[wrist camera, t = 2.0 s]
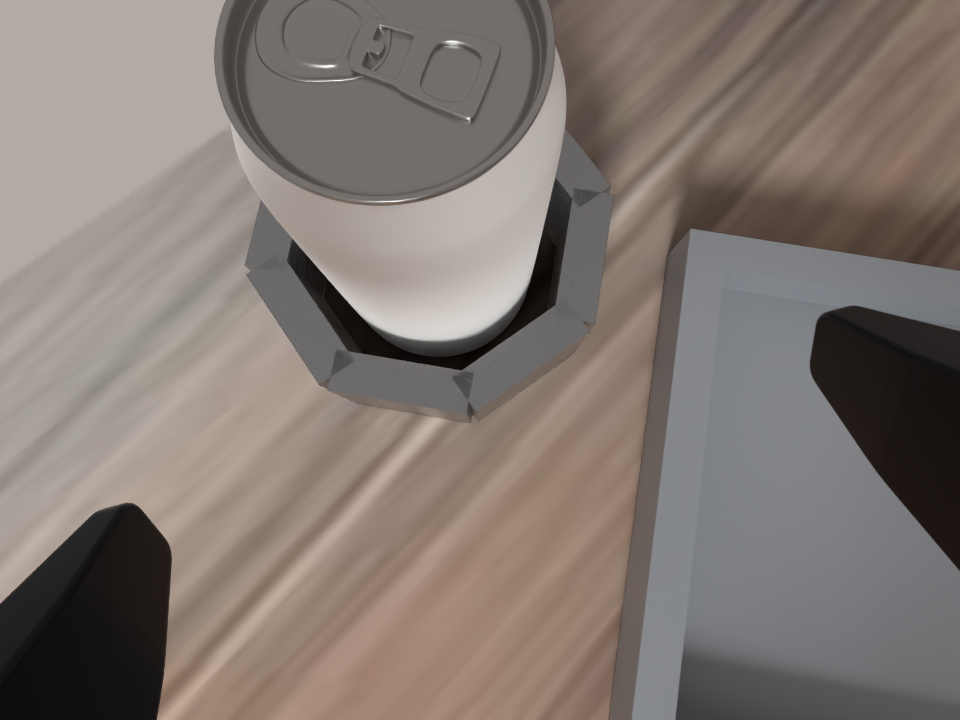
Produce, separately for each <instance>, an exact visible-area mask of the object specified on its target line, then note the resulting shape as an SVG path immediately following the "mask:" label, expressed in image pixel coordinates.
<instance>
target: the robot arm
mask: <svg viewBox="0 0 960 720" xmlns="http://www.w3.org/2000/svg"><path fill="white" fill-rule="evenodd" d="M810 372H811V375H812V378H813V380H814V382H815V383H816V385H817V386H818V388H819V389H820V391H821V392H822V394H823V395H824V396H825V398H826V399H827V401H828V402H829V404H830V405H831V407H832V408H833V410H834V411H835V413H836V414H837V416H838V417H839V419H840V420H841V421H842V423H843V424H844V426H845V427H846V429H847V430H848V432H849V433H850V435H851V436H852V438H853V439H854V441H855V442H856V444H857V445H858V446H859V448H860V449H861V451H862V452H863V454H864V455H865V457H866V458H867V460H868V461H869V462H870V464H871V465H872V466H873V468H874V469H875V471H876V472H877V473H878V475H879V476H880V477H881V478H882V480H883V481H884V482H885V483H886V485H887V486H888V487H889V488H890V490H891V491H892V492H893V493H894V494H895V495H896V497H897V498H898V499H899V500H900V501H901V503H902V504H903V505H904V506H905V507H906V508H907V510H908V511H909V512H910V513H911V514H912V515H913V517H914V518H915V519H916V520H917V521H918V523H919V524H920V525H921V526H922V527H923V528H924V530H925V531H926V532H927V533H928V534H929V536H930V537H931V538H932V539H933V540H934V541H935V543H936V544H937V545H938V546H939V547H940V549H941V550H942V551H943V552H944V553H945V554H946V556H947V557H948V558H949V559H950V560H951V562H952V563H953V564H954V565H955V566H956V567H957V569H958V570H959V571H960V331H958V330H954V329H950V328H946V327H942V326H938V325H934V324H930V323H926V322H922V321H917V320H913V319H909V318H905V317H901V316H897V315H893V314H889V313H885V312H881V311H877V310H873V309H869V308H865V307H861V306H856V305H851V306H846V307H842V308H838V309H835V310H831V311H827V312H825V313H823V314H821V315H820V317H819V318H818V320H817V322H816V326H815V332H814V338H813V344H812V350H811V356H810ZM171 564H172V556H171V550H170V546H169V544H168V542H167V540H166V539H165V538H164V536H163V535H162V534H161V533H160V531H159V530H158V529H157V528H156V527H155V525H154V524H153V523H152V522H151V521H150V519H149V518H148V517H147V516H146V514H145V513H144V512H143V511H142V510H141V509H140V508H139V507H138V506H137V505H135V504H133V503H124V504H120V505H116V506H113V507H109V508H105V509H102V510H99V511H97V512H95V513H94V514H93V515H92V516H91V517H89V518H88V519H87V520H86V521H85V522H84V523H83V524H82V525H81V526H80V527H79V528H78V529H77V530H76V531H75V532H74V533H73V534H72V535H71V536H70V537H69V538H68V539H67V540H66V541H65V542H64V543H63V544H62V545H61V546H60V547H58V548H57V549H56V550H55V551H54V552H53V553H52V554H51V555H50V556H49V557H48V558H47V559H46V560H45V561H44V562H43V563H42V564H41V565H40V566H39V567H38V568H37V569H36V570H35V571H34V572H33V573H32V574H31V575H30V576H28V577H27V578H26V579H25V580H24V581H23V582H22V583H21V584H20V585H19V586H18V587H17V588H16V589H15V590H14V591H13V592H12V593H11V594H10V595H9V596H8V597H7V598H6V599H5V600H4V601H3V602H2V603H1V604H0V720H157V714H158V709H159V703H160V697H161V690H162V684H163V677H164V668H165V657H166V643H167V627H168V611H169V596H170V580H171Z"/></svg>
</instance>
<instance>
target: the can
mask: <svg viewBox="0 0 960 720" xmlns="http://www.w3.org/2000/svg"><path fill="white" fill-rule="evenodd" d="M214 50H215V51H214V63H215V74H216V81H217V85H218V90H219V93H220V97H221V100H222V103H223V106H224V108H225V111H226V113H227V115H228V117H229V119H230V121H231V129H232V134H233V140H234V144H235V148H236V151H237V155H238V157H239V160H240V163H241V165H242V168H243V170H244V172H245V174H246V176H247V178H248V179H249V181H250V183H251V185H252V186H253V188H254V190H255V191H256V193H257V195H258V196H259V198H260V199H261V200H262V202H263V203H264V204H265V206H266V207H267V208H268V210H269V211H270V212H271V213H272V215H273V216H274V217H275V219H276V220H277V221H278V222H279V223H280V224H281V226H282V227H283V228H284V229H285V230H286V232H287V233H288V234H289V235H290V236H291V237H292V239H293V240H294V241H295V242H296V243H297V244H298V246H299V247H300V248H301V249H302V250H303V251H304V252H305V254H306V255H307V256H308V257H309V258H310V259H311V261H312V262H313V263H314V264H315V265H316V266H317V267H318V269H319V270H320V271H321V272H322V273H323V274H324V275H325V277H326V278H327V279H328V280H329V281H330V282H331V283H332V285H333V286H334V287H335V288H336V289H337V290H338V291H339V292H340V294H341V295H342V296H343V297H344V298H345V299H346V300H347V301H348V303H349V304H350V305H351V306H352V307H353V308H354V309H355V310H356V312H357V313H358V314H359V315H360V316H361V317H362V318H363V319H364V320H365V321H366V322H367V324H368V325H369V326H370V327H371V328H372V329H373V330H374V331H375V332H376V333H378V334H379V335H380V336H381V337H382V338H384V339H385V340H387V341H388V342H390V343H391V344H393V345H395V346H396V347H398V348H400V349H403V350H405V351H408V352H411V353H414V354H418V355H423V356H430V357H447V356H455V355H460V354H464V353H467V352H470V351H473V350H475V349H478V348H480V347H482V346H484V345H485V344H487V343H489V342H490V341H492V340H493V339H494V338H496V337H497V336H498V335H499V334H501V333H502V332H503V331H504V330H505V329H506V328H507V327H508V325H509V324H510V323H511V322H512V321H513V319H514V318H515V316H516V315H517V313H518V311H519V310H520V308H521V306H522V304H523V302H524V299H525V297H526V294H527V291H528V287H529V284H530V280H531V276H532V272H533V268H534V264H535V260H536V256H537V252H538V248H539V244H540V240H541V236H542V231H543V227H544V223H545V219H546V215H547V210H548V206H549V202H550V197H551V193H552V189H553V184H554V180H555V176H556V171H557V167H558V162H559V157H560V153H561V148H562V142H563V137H564V130H565V122H566V85H565V78H564V73H563V68H562V64H561V61H560V58H559V55H558V52H557V49H556V46H555V31H554V24H553V18H552V14H551V10H550V6H549V3H548V0H226V1H225V3H224V6H223V9H222V12H221V15H220V18H219V22H218V26H217V31H216V38H215V49H214Z"/></svg>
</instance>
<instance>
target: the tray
mask: <svg viewBox="0 0 960 720" xmlns="http://www.w3.org/2000/svg"><path fill="white" fill-rule="evenodd" d="M851 305H856V306H861V307H865V308H869V309H873V310H877V311H881V312H885V313H889V314H893V315H897V316H901V317H905V318H909V319H913V320H917V321H922V322H926V323H930V324H934V325H938V326H942V327H946V328H950V329H954V330H958V331H960V271H958V270H952V269H945V268H939V267H932V266H926V265H920V264H913V263H907V262H901V261H894V260H888V259H881V258H875V257H869V256H862V255H856V254H850V253H843V252H837V251H830V250H824V249H818V248H811V247H805V246H799V245H792V244H786V243H780V242H773V241H767V240H760V239H754V238H748V237H741V236H735V235H729V234H722V233H716V232H709V231H703V230H697V229H690V230H689V231H688V232H687V233H686V235H685V236H684V237H683V238H682V239H681V240H680V241H679V242H678V244H677V245H676V246H675V247H674V248H673V249H672V250H671V252H670V253H669V254H668V255H667V262H666V270H665V278H664V286H663V294H662V302H661V310H660V318H659V326H658V333H657V341H656V349H655V357H654V365H653V373H652V381H651V389H650V397H649V405H648V413H647V421H646V429H645V437H644V444H643V452H642V460H641V468H640V476H639V484H638V492H637V500H636V508H635V516H634V524H633V532H632V540H631V548H630V556H629V563H628V571H627V579H626V587H625V595H624V603H623V611H622V619H621V627H620V635H619V643H618V651H617V659H616V667H615V674H614V682H613V690H612V698H611V706H610V714H609V720H960V571H959V570H958V569H957V567H956V566H955V565H954V564H953V563H952V562H951V560H950V559H949V558H948V557H947V556H946V554H945V553H944V552H943V551H942V550H941V549H940V547H939V546H938V545H937V544H936V543H935V541H934V540H933V539H932V538H931V537H930V536H929V534H928V533H927V532H926V531H925V530H924V528H923V527H922V526H921V525H920V524H919V523H918V521H917V520H916V519H915V518H914V517H913V515H912V514H911V513H910V512H909V511H908V510H907V508H906V507H905V506H904V505H903V504H902V503H901V501H900V500H899V499H898V498H897V497H896V495H895V494H894V493H893V492H892V491H891V490H890V488H889V487H888V486H887V485H886V483H885V482H884V481H883V480H882V478H881V477H880V476H879V475H878V473H877V472H876V471H875V469H874V468H873V466H872V465H871V464H870V462H869V461H868V460H867V458H866V457H865V455H864V454H863V452H862V451H861V449H860V448H859V446H858V445H857V444H856V442H855V441H854V439H853V438H852V436H851V435H850V433H849V432H848V430H847V429H846V427H845V426H844V424H843V423H842V421H841V420H840V419H839V417H838V416H837V414H836V413H835V411H834V410H833V408H832V407H831V405H830V404H829V402H828V401H827V399H826V398H825V396H824V395H823V394H822V392H821V391H820V389H819V388H818V386H817V385H816V383H815V382H814V380H813V378H812V375H811V372H810V356H811V350H812V344H813V338H814V332H815V326H816V322H817V320H818V318H819V317H820V315H821V314H823V313H825V312H827V311H831V310H835V309H838V308H842V307H846V306H851Z"/></svg>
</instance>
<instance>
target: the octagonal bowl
mask: <svg viewBox="0 0 960 720" xmlns="http://www.w3.org/2000/svg"><path fill="white" fill-rule="evenodd" d="M610 188H611V184H610V183H609V182H608V181H607V179H606V178H605V177H604V176H603V174H602V173H601V172H600V171H599V169H598V168H597V167H596V166H595V164H594V163H593V162H592V161H591V159H590V158H589V157H588V156H587V154H586V153H585V152H584V151H583V149H582V148H581V147H580V146H579V144H578V143H577V142H576V141H575V139H574V138H573V137H572V136H571V134H570V133H569V132H568V131H567V129H566V128H565V130H564V137H563V142H562V148H561V153H560V157H559V162H558V167H557V171H556V176H555V180H554V184H553V189H552V193H551V197H550V202H549V206H548V210H547V215H546V219H545V223H544V227H543V229H544V231H545V232H546V233H547V234H548V236H549V237H550V238H551V240H552V241H553V242H554V244H555V245H556V246H557V249H556V255H555V262H554V268H553V274H552V280H551V287H550V293H549V299H548V306H547V312H545V313H544V314H542V315H541V316H539V317H538V318H536V319H535V320H534V321H532V322H531V323H529V324H528V325H526V326H525V327H524V328H522V329H521V330H519V331H518V332H516V333H515V334H514V335H512V336H511V337H509V338H508V339H506V340H505V341H503V342H502V343H501V344H499V345H498V346H496V347H495V348H493V349H492V350H491V351H489V352H488V353H486V354H485V355H483V356H482V357H481V358H479V359H478V360H476V361H475V362H473V363H472V364H470V365H469V366H468V367H466V368H465V369H463V370H462V371H461V370H455V369H450V368H444V367H438V366H432V365H426V364H420V363H414V362H408V361H402V360H396V359H391V358H385V357H379V356H373V355H367V354H362V353H361V352H360V350H359V349H358V347H357V346H356V344H355V343H354V341H353V340H352V338H351V337H350V335H349V334H348V332H347V331H346V330H345V328H344V327H343V325H342V324H341V322H340V321H339V319H338V318H337V316H336V315H335V313H334V312H333V310H332V309H331V308H330V306H329V305H328V303H327V302H326V300H325V299H324V295H325V291H326V286H327V282H328V279H327V278H326V277H325V275H324V274H323V273H322V272H321V271H320V270H319V269H318V267H317V266H316V265H315V264H314V263H313V262H312V261H311V259H310V258H309V257H308V256H307V255H306V254H305V252H304V251H303V250H302V249H301V248H300V247H299V246H298V244H297V243H296V242H295V241H294V240H293V239H292V237H291V236H290V235H289V234H288V233H287V232H286V230H285V229H284V228H283V227H282V226H281V224H280V223H279V222H278V221H277V220H276V219H275V217H274V216H273V215H272V213H271V212H270V211H269V210H268V208H267V207H266V206H265V204H264V203H263V202H262V200H261V202H260V206H259V210H258V214H257V218H256V222H255V226H254V230H253V234H252V238H251V242H250V246H249V250H248V254H247V258H246V262H245V266H246V267H247V268H248V269H250V270H251V272H249V273H248V274H246V275H247V277H248V278H249V280H250V281H251V283H252V284H253V286H254V287H255V289H256V290H257V292H258V293H259V295H260V296H261V298H262V299H263V301H264V302H265V304H266V305H267V307H268V308H269V310H270V312H271V313H272V315H273V316H274V318H275V319H276V321H277V322H278V324H279V325H280V327H281V328H282V330H283V331H284V333H285V334H286V336H287V337H288V339H289V340H290V342H291V343H292V345H293V346H294V348H295V349H296V351H297V352H298V354H299V355H300V357H301V358H302V360H303V361H304V363H305V364H306V366H307V367H308V369H309V370H310V372H311V373H312V375H313V376H314V378H315V379H316V381H317V383H318V384H319V385H320V386H323V387H325V388H327V389H328V391H330V392H332V393H335V394H337V395H339V396H342V397H344V398H346V399H348V400H351V401H353V402H355V403H358V404H363V405H369V406H374V407H380V408H386V409H392V410H397V411H403V412H409V413H415V414H421V415H426V416H432V417H438V418H444V419H449V420H455V421H461V422H467V423H470V422H471V417H472V413H473V414H474V416H475V417H476V419H477V420H478V421H480V420H481V419H482V418H484V417H485V416H487V415H488V414H489V413H491V412H492V411H494V410H495V409H496V408H498V407H499V406H501V405H502V404H504V403H505V402H506V401H508V400H509V399H511V398H512V397H513V396H515V395H516V394H518V393H519V392H521V391H522V390H523V389H525V388H526V387H528V386H529V385H530V384H532V383H533V382H535V381H536V380H537V379H539V378H540V377H542V376H543V375H545V374H546V373H547V372H549V371H550V370H552V369H553V368H554V367H556V366H557V365H559V364H560V363H561V362H563V361H564V360H566V359H567V358H569V357H570V356H571V355H572V354H573V353H574V351H575V350H576V349H577V348H578V346H579V345H580V344H581V343H582V341H583V340H584V339H585V337H586V336H587V335H588V334H589V332H590V329H591V328H592V327H593V326H594V324H595V322H596V315H597V308H598V301H599V294H600V287H601V280H602V273H603V267H604V260H605V253H606V246H607V239H608V232H609V225H610V218H611V211H612V204H613V197H614V194H608V192H609V190H610Z"/></svg>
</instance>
